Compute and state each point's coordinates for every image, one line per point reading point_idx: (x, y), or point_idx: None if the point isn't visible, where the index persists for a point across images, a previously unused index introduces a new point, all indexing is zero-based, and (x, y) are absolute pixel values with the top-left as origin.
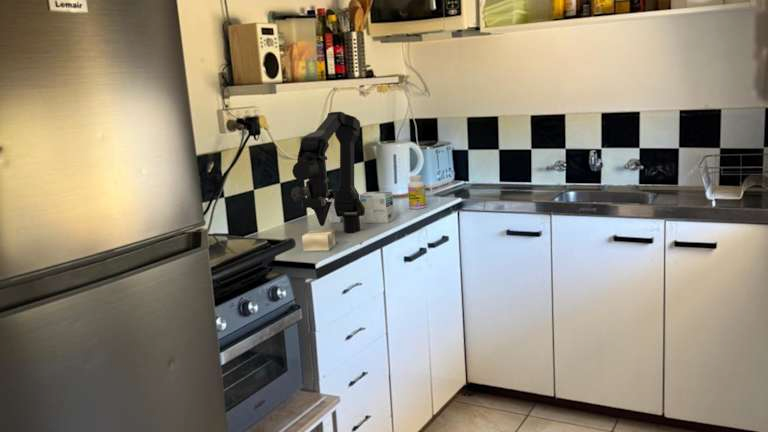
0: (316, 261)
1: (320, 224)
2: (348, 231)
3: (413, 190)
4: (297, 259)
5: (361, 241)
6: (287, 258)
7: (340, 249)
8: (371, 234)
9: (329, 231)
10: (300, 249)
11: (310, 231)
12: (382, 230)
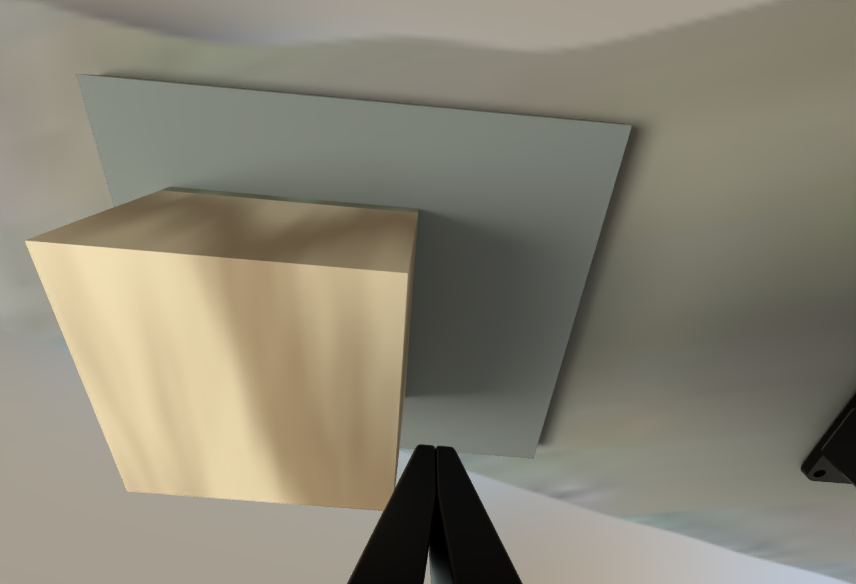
0: (3, 323)
1: (408, 464)
2: (854, 438)
3: None
4: (20, 156)
5: (562, 492)
6: (31, 28)
7: None
8: (755, 521)
9: (317, 485)
10: (296, 118)
11: (364, 292)
12: (839, 557)
